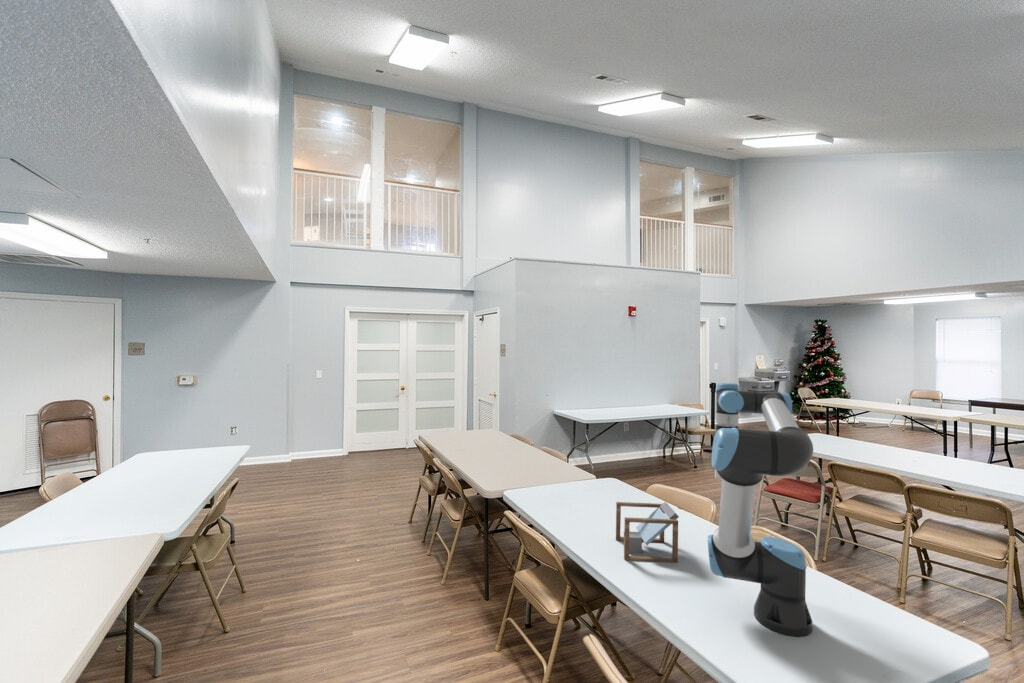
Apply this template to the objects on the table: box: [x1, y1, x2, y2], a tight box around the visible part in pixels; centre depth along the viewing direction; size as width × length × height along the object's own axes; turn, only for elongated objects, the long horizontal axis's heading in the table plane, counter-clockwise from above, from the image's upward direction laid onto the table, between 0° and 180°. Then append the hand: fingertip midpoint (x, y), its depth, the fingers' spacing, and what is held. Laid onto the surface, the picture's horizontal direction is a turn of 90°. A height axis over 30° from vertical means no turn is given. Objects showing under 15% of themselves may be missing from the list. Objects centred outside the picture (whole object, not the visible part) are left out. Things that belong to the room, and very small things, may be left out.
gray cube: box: [629, 531, 643, 554], centre depth 185 cm, size 6×6×6 cm
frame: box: [615, 501, 679, 563], centre depth 185 cm, size 20×20×16 cm
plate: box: [635, 501, 680, 546], centre depth 184 cm, size 16×17×2 cm
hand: (726, 482), depth 168 cm, fingers open, 13 cm apart
